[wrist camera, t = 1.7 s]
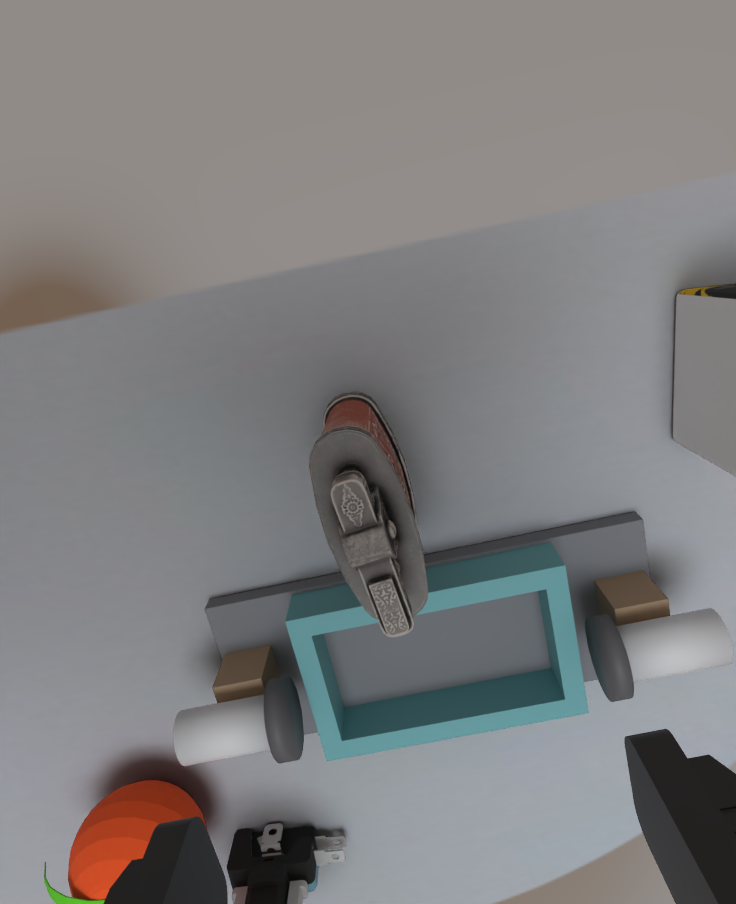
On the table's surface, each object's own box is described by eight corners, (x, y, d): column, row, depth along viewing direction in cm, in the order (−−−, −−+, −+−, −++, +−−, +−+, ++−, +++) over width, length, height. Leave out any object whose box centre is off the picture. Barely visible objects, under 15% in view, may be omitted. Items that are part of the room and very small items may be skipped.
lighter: (310, 404, 30) (279, 468, 21) (377, 381, 30) (378, 435, 20) (365, 552, 32) (362, 672, 23) (429, 532, 32) (453, 645, 22)
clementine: (84, 841, 38) (20, 968, 31) (81, 743, 36) (12, 856, 29) (219, 853, 38) (185, 982, 31) (224, 757, 36) (189, 872, 29)
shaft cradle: (232, 735, 35) (201, 841, 29) (187, 603, 33) (141, 686, 27) (675, 651, 34) (747, 744, 27) (659, 506, 31) (734, 569, 25)
